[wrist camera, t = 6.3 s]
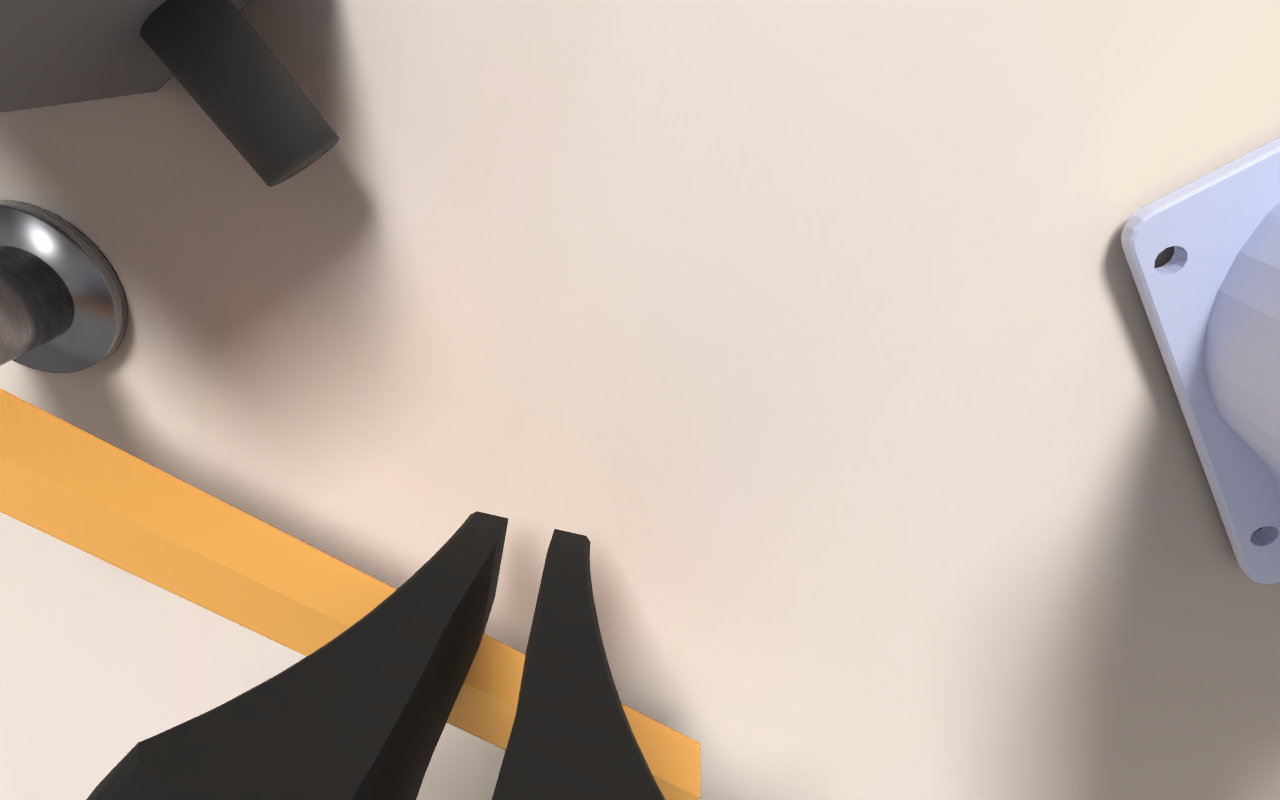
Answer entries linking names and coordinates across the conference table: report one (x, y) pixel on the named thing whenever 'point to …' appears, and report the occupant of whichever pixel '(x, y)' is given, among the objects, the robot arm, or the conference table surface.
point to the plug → (163, 69)
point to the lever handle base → (55, 293)
